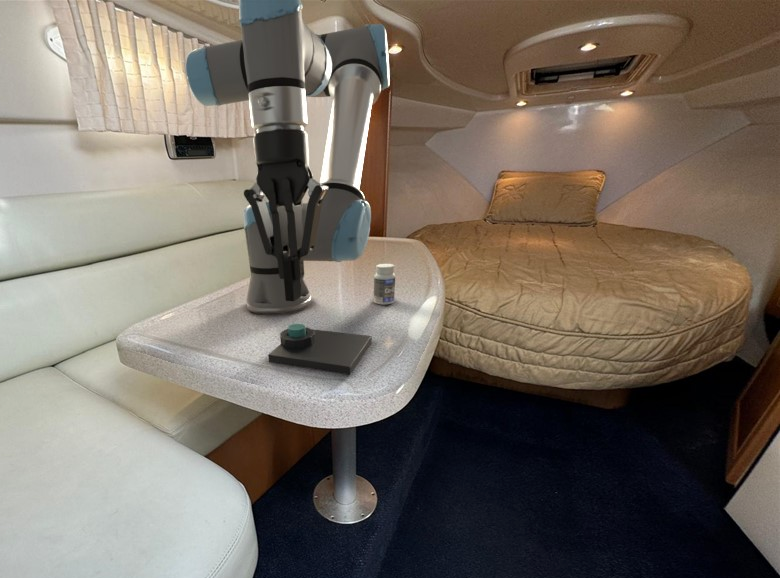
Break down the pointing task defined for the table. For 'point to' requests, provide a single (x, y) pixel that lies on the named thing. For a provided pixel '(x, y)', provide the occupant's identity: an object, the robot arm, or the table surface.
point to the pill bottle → (384, 284)
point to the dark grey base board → (321, 350)
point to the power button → (296, 330)
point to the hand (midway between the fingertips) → (293, 298)
